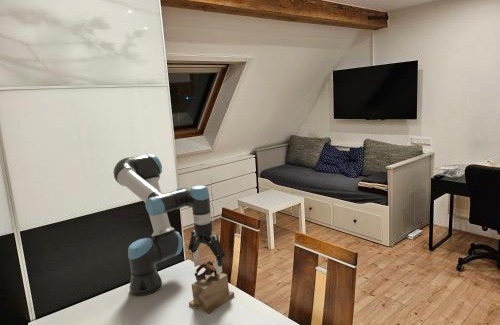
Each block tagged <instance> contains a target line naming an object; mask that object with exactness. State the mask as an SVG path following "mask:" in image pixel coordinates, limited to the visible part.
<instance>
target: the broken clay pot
mask: <svg viewBox="0 0 500 325" xmlns="http://www.w3.org/2000/svg"><path fill="white" fill-rule="evenodd" d="M203 268H205V269H204V271H203V272H202V273H200V271H201V270H202V269H203ZM213 272H214V274H215V276H216V278H217V280H218V281H219V275H218V274H217V273H216V267H215V266H214V263H213V262H212V261H210V260H208V261H207V262H206V263H205V262H204V263H202V264H200V265H198V267H196V269H195V273H194V277H195V280H196V281H201V280H206V275H212V273H213ZM199 273H200V274H199Z"/></svg>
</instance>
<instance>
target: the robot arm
mask: <svg viewBox="0 0 500 325" xmlns="http://www.w3.org/2000/svg"><path fill="white" fill-rule="evenodd" d="M162 172H163V165H162V162H161V161H160V159H159V158H158V156H157V155H156V154H153V153H149V154H148V153H147V154H141V155H134V156H130V157H124V158H122V159H120V160H119V161H118V162H117V163H116V165H115V166H114V168H113V178H114V180H115V181H116V182H117V183H118V184H119V185H120V186H122V187H126V188H127V189H128V190H130V191H131V193H133V194H134V195H135V196H136V197H138V198H139V199H140V200H142V201H143V202H144V204H145V206H144V207H145V210H146V211H147V213H148V217H149V220H150V223H151V226H152V231H153V232H152V234H151V238H150V237H144V238H140V239H137V240H135V241H134V242H132V243H131V244H129V246H128V247H127V248H128V250H127V254H128V255H127V257H128V262H129V267H130V272H131V274H130V276H131V277H130V282H129V292H130V294H131V295H133V296H137V297H143V296H148V295H151V294H153V293H155V292H157V291H159V290H160V289H161V288H162V287H163V282H162V281H163V280H162V278H161V276H160V274H159V272H158V271H157V264H159V263H161V262H164V261H166V260H168V259H170V258H174V257H176V256H178V255H179V254H181V252H182V250H183V248H184V247H183V245H184V242H183V237H182V235H181V234H180V232H179V231H176V229H175V228H174V227H172V226H171V223H170V220H169V216H168V212H172V211H175V210H179V209H182V208H185V207H190V208H192V217H193V223H194V224H193V226H194V230H193V231H191V232H190V239H189V243H188V246H187V247H188V248H187V250H188V251H190V252H191V254H192V260H193V264H194V265H193V266H194V267H196V268H197V266H198V267H199V266H200V265H201V261H200V254H199V247H200V246H201V244H204V245H206V246H207V247H208V248H209V249H210V251H211V252H212V253H213V255H214V257H215V259H214V261H215V269H216V273H217V274H219V273H223V267H222V266H223V259H224V258H225V257H226V253H225V251H224V249H223V246H222V244H221V242H220V240H219V236H218V234H214V235H213V233H212V232H213V222H212V221H213V219H212V210H211V200H210V193H209V187H208V186H206V185H195V186H192V187H189V188H188V187H178V188H177V189H176V190H175V191H171V192H167V193H162V191H161V187H160V183H159V180H160V178H161V174H162Z"/></svg>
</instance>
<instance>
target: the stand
mask: <svg viewBox="0 0 500 325" xmlns="http://www.w3.org/2000/svg"><path fill="white" fill-rule="evenodd" d="M218 275H219V281H218V280H217V278H216V276H215V274H214V272H213V273H212V275H206V280H201V281H197V280H196V281H195V282H193V283H191V284H190V285H191V291H192V297H193V298H192V300H190V301H189V302H188V305H189V307H191V306H192V308H193V307H194V309H196V310H198V311H201V312H203V313H206V314H208V315H210V314H211V313H213V311H216V309H218V308H219V307H221V306H223V305H224V304H225V303H227V301H230V299H231V298H233V297H234V296H235V291H231V290H229V289H230V288H229V280H228V277H229V276H228V274H226V273H223V272H221V273H219V274H218Z"/></svg>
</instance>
